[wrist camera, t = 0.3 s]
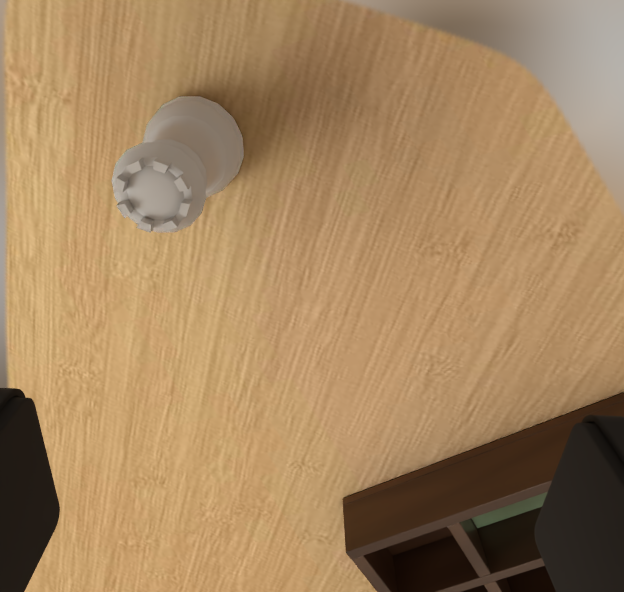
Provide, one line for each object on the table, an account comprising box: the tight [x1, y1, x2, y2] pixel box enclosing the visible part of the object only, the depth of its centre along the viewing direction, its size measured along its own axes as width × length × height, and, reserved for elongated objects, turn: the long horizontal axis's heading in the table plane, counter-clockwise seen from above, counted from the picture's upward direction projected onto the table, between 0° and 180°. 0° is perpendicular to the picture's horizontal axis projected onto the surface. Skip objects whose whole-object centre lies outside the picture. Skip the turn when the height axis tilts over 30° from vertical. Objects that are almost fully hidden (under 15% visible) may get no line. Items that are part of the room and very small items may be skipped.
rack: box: [343, 393, 624, 592], centre depth 35 cm, size 13×20×4 cm
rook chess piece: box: [112, 96, 244, 233], centre depth 21 cm, size 4×4×8 cm
